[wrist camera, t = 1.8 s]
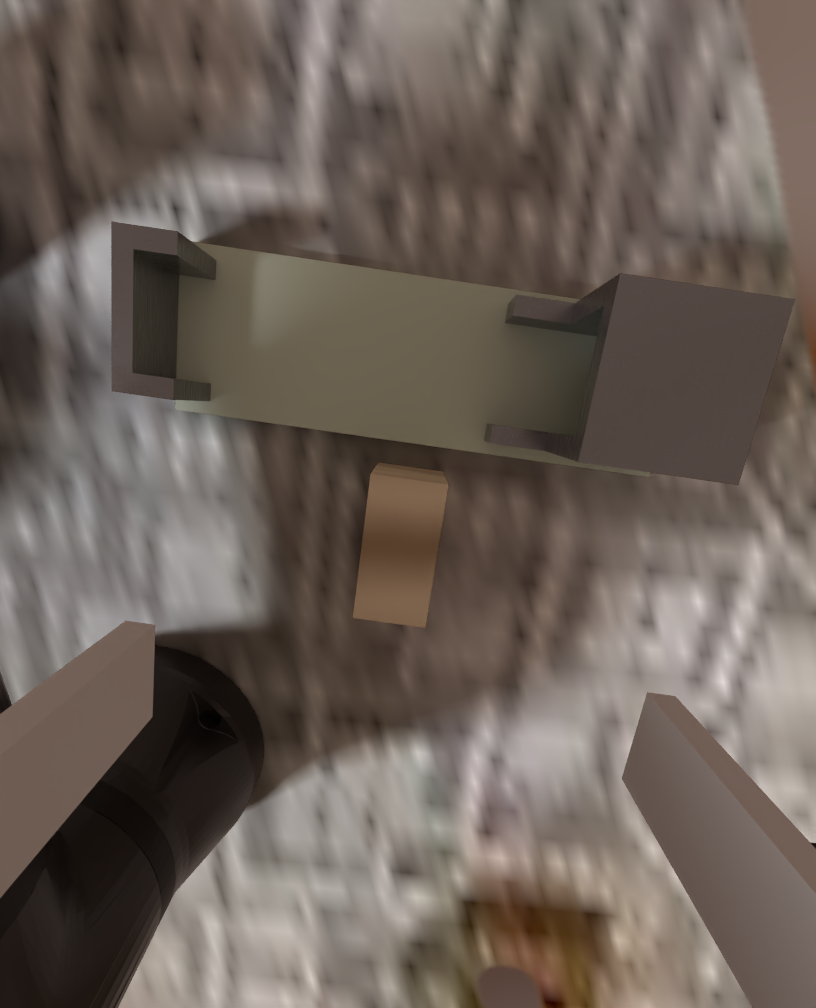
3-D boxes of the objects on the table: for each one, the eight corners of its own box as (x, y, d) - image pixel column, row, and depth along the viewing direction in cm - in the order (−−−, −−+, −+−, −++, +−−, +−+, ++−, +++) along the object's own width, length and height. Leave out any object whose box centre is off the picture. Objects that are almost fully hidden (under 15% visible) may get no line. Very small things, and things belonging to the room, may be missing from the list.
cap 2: (484, 440, 26) (508, 452, 19) (508, 303, 24) (544, 261, 17) (652, 464, 26) (738, 484, 19) (687, 330, 24) (794, 299, 17)
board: (184, 409, 27) (175, 409, 26) (189, 246, 25) (180, 239, 24) (641, 475, 27) (649, 477, 26) (680, 319, 25) (691, 315, 24)
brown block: (423, 590, 29) (425, 628, 24) (363, 582, 29) (352, 617, 24) (442, 471, 27) (448, 484, 22) (378, 462, 27) (370, 473, 22)
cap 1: (158, 393, 25) (111, 391, 22) (161, 252, 24) (111, 221, 20) (210, 401, 26) (173, 399, 22) (216, 260, 24) (177, 231, 20)
